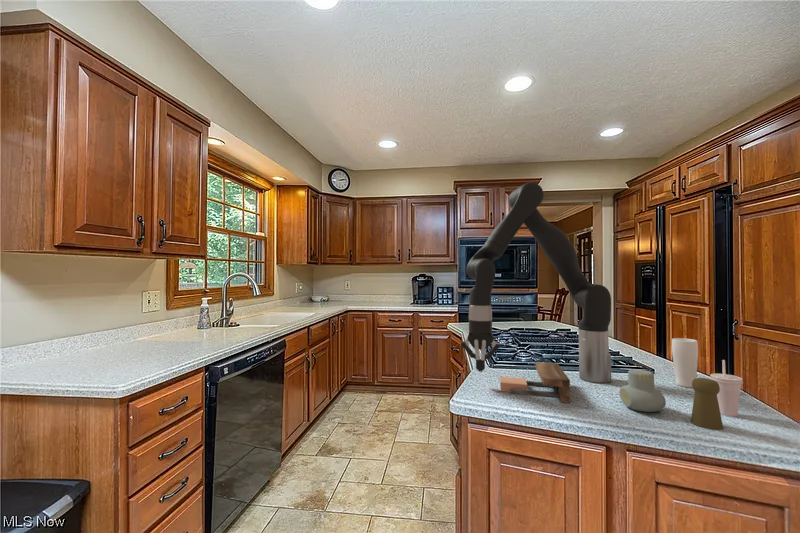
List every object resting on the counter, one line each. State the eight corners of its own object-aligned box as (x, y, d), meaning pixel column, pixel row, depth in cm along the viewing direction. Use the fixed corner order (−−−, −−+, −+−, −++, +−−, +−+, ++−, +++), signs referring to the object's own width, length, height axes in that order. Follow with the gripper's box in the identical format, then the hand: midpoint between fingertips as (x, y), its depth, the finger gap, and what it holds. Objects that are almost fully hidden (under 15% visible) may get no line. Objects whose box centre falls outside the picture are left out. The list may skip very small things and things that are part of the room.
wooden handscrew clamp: (557, 382, 121) (557, 363, 121) (570, 403, 101) (569, 380, 102) (508, 379, 125) (508, 360, 125) (511, 398, 105) (511, 376, 106)
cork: (729, 430, 83) (728, 383, 83) (700, 428, 84) (698, 382, 84) (712, 420, 89) (711, 376, 89) (685, 418, 90) (683, 374, 90)
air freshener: (670, 417, 91) (669, 378, 91) (634, 415, 92) (633, 376, 92) (648, 402, 102) (647, 367, 102) (616, 401, 103) (615, 366, 103)
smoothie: (704, 409, 96) (702, 357, 96) (726, 408, 96) (724, 356, 97) (728, 419, 89) (726, 363, 90) (751, 418, 90) (749, 362, 90)
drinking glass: (699, 385, 117) (698, 339, 117) (698, 390, 112) (697, 342, 112) (674, 381, 121) (672, 337, 122) (671, 385, 116) (670, 339, 117)
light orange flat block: (525, 386, 117) (525, 378, 117) (527, 392, 110) (527, 384, 111) (500, 384, 119) (500, 376, 119) (500, 390, 112) (500, 382, 113)
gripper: (500, 318, 120) (500, 369, 120) (461, 316, 123) (461, 366, 123) (501, 320, 113) (501, 375, 112) (459, 319, 116) (459, 372, 116)
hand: (480, 370), depth 118 cm, fingers closed
